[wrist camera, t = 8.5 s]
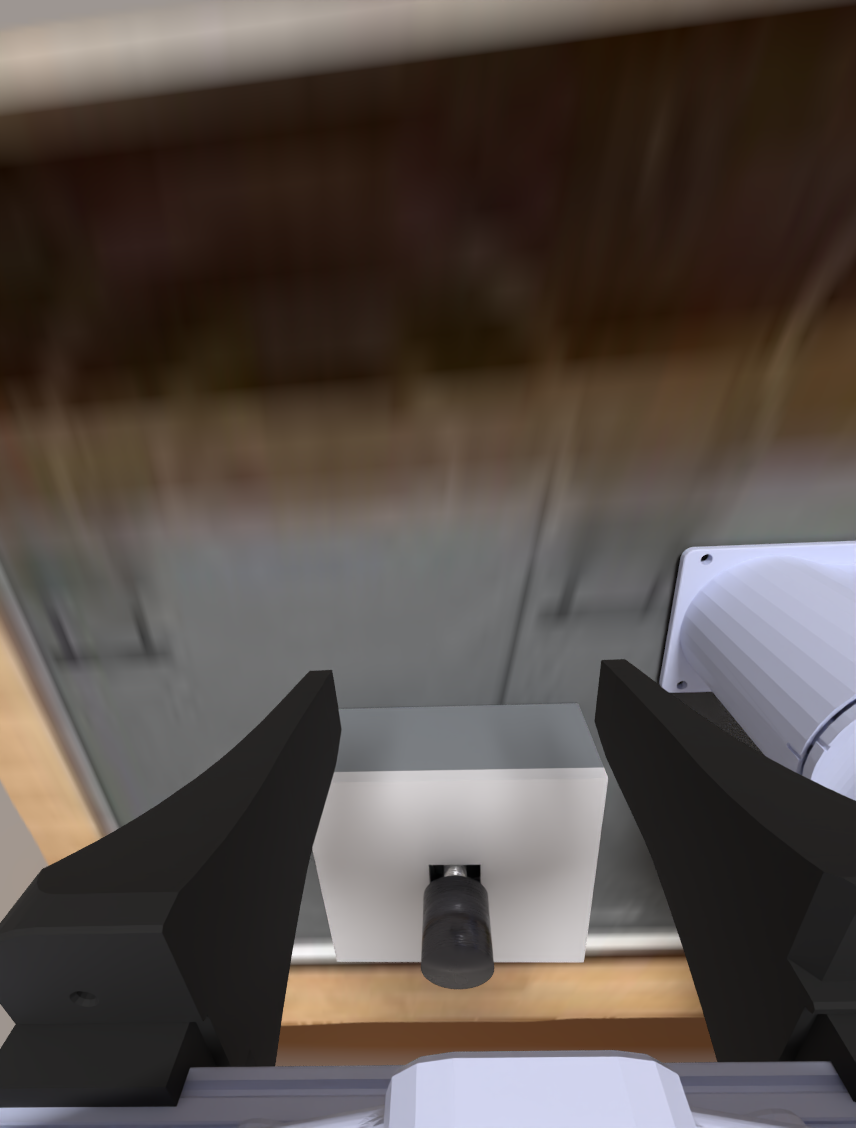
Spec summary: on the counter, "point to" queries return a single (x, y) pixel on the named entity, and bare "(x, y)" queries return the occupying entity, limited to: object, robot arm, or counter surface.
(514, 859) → the slotted white block
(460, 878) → the plunger
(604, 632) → the counter surface
